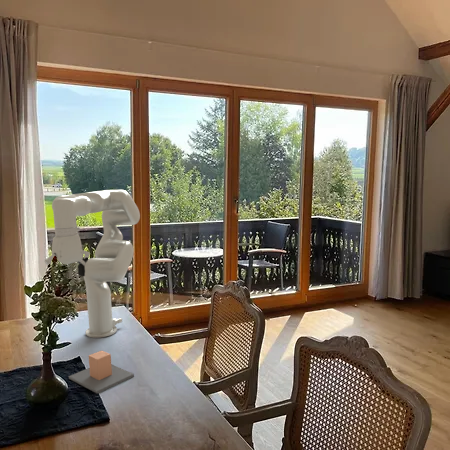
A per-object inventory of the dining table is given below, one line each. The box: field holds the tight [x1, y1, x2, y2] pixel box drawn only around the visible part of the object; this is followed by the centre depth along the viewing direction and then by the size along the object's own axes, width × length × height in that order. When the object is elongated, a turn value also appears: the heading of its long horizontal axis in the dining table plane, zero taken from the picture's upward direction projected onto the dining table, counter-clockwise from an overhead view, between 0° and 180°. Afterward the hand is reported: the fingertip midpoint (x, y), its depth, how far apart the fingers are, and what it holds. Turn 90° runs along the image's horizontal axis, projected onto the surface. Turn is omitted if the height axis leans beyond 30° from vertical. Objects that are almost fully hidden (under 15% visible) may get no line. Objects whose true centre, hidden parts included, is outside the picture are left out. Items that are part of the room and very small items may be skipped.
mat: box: [68, 363, 135, 394], centre depth 148 cm, size 14×16×1 cm
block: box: [88, 350, 112, 380], centre depth 147 cm, size 5×5×7 cm
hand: (70, 278), depth 164 cm, fingers open, 9 cm apart
